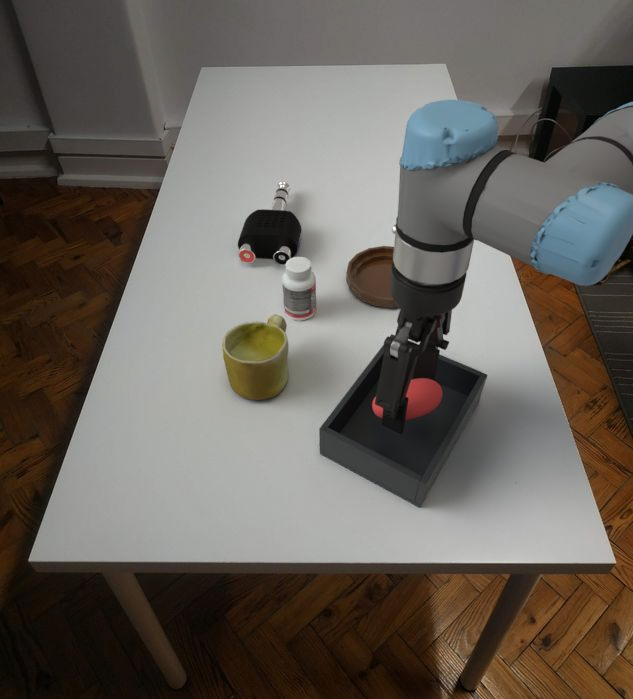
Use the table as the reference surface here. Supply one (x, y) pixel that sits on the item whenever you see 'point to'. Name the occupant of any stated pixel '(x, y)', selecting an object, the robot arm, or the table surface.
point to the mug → (257, 358)
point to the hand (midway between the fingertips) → (408, 403)
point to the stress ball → (418, 398)
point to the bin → (416, 439)
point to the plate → (372, 276)
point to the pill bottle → (299, 289)
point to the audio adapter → (271, 231)
